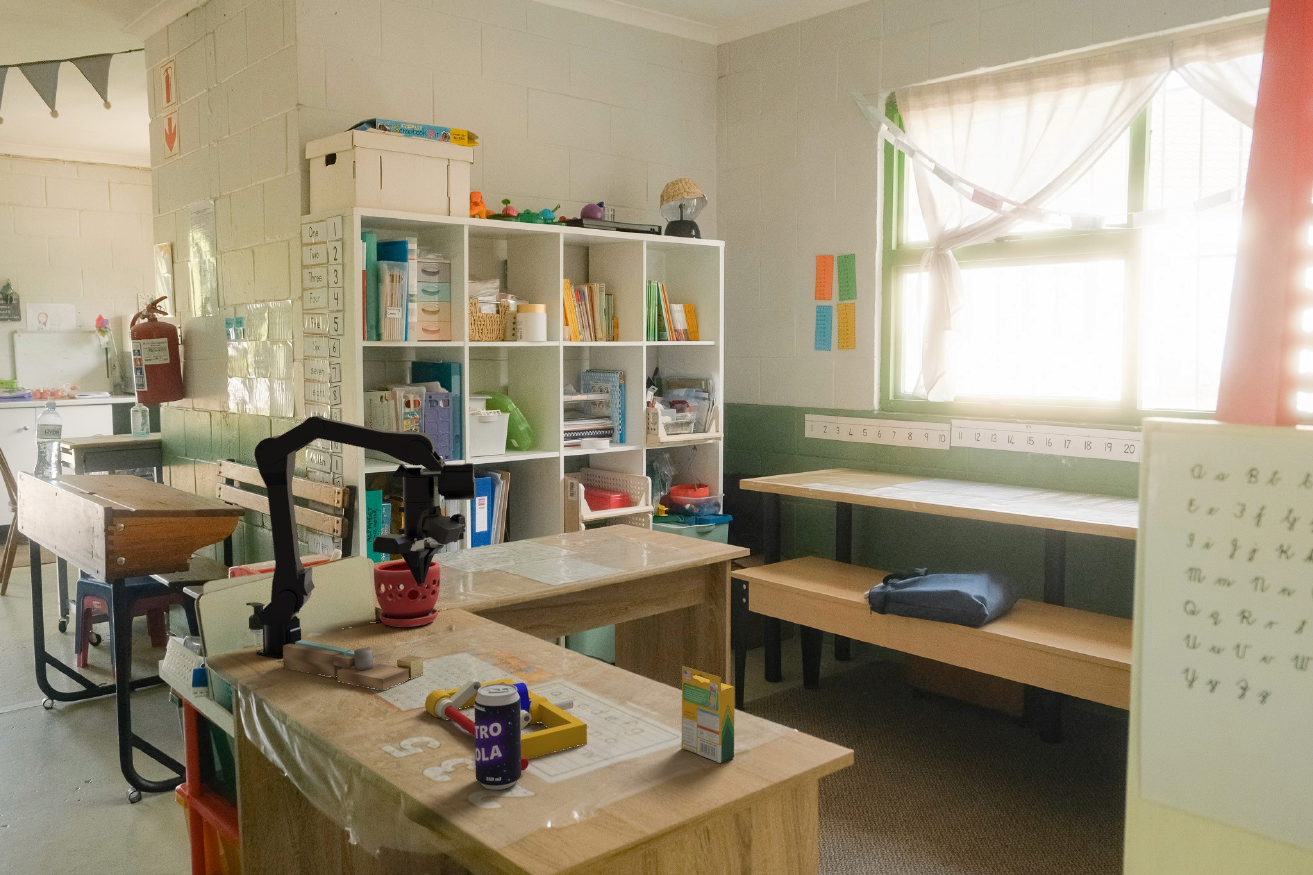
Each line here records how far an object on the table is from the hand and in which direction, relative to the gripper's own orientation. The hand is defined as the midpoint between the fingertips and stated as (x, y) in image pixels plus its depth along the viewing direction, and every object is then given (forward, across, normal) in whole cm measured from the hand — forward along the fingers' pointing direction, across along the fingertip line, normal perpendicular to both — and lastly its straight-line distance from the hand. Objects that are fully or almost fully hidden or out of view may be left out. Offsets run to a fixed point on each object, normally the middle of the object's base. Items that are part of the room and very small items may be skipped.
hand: (420, 583), depth 182 cm
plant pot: (+12, +12, +15) cm, 23 cm away
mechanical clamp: (+13, -25, -41) cm, 50 cm away
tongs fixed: (+12, -19, 0) cm, 23 cm away
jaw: (+12, -18, +4) cm, 22 cm away
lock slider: (+12, -14, -10) cm, 21 cm away
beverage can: (+12, -41, -50) cm, 66 cm away
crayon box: (+12, -20, -69) cm, 73 cm away
